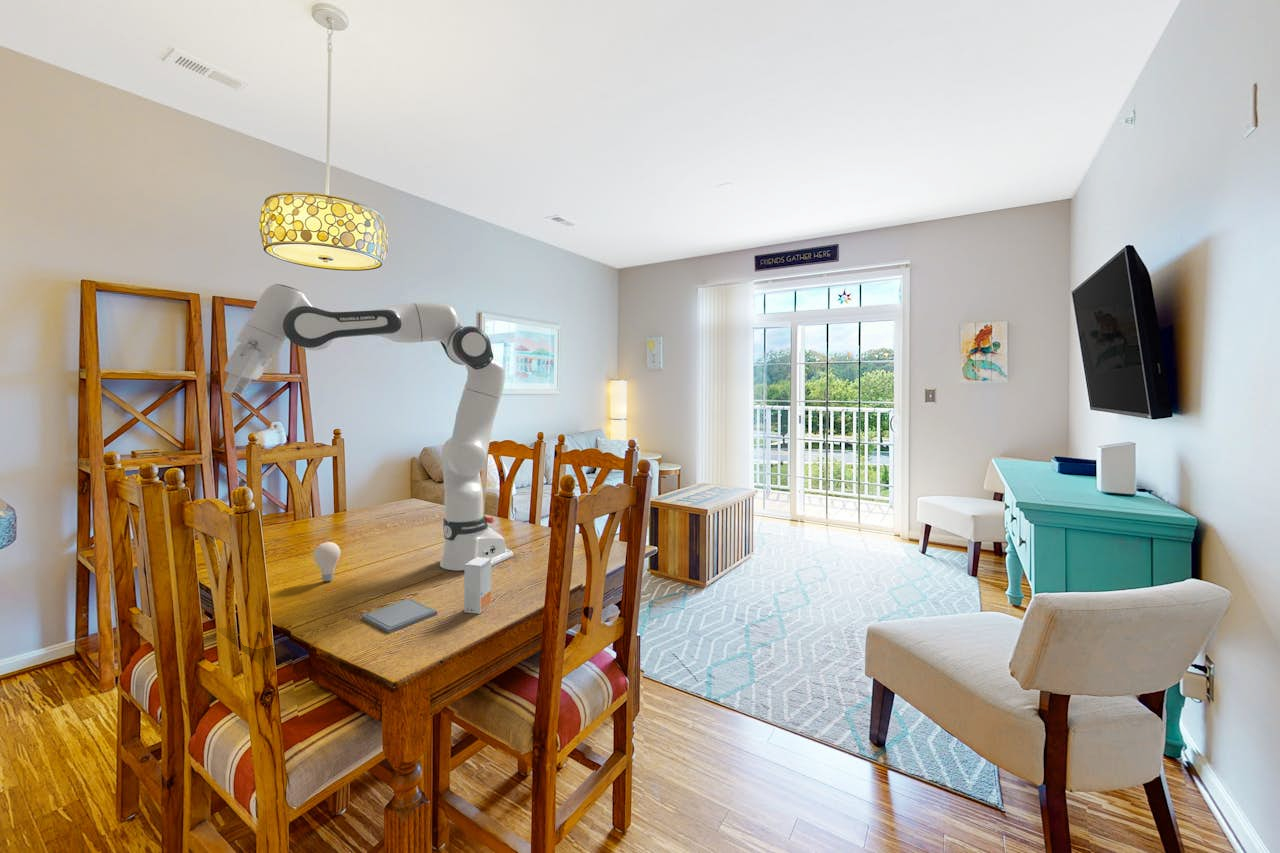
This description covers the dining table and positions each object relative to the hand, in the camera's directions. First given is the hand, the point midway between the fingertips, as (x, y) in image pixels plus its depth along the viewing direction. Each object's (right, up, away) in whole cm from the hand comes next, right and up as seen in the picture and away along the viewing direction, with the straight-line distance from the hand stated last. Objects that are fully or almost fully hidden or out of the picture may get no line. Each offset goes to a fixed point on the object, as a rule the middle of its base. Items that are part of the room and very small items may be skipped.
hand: (232, 392), depth 130 cm
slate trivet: (+44, -53, -6) cm, 70 cm away
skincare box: (+61, -53, -1) cm, 81 cm away
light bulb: (+15, -51, +15) cm, 56 cm away
